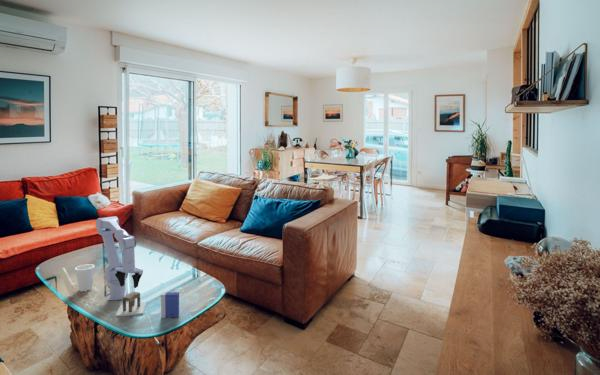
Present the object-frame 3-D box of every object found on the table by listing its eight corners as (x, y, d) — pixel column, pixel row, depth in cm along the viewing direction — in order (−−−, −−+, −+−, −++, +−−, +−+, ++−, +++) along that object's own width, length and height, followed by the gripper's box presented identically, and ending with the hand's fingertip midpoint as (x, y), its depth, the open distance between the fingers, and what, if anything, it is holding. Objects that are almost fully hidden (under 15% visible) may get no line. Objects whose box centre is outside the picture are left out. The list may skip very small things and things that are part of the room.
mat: (121, 305, 177) (121, 304, 177) (146, 303, 180) (146, 301, 180) (115, 316, 165) (115, 315, 165) (142, 314, 169) (142, 312, 169)
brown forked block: (122, 310, 170) (122, 297, 169) (132, 304, 176) (132, 291, 176) (130, 312, 169) (130, 298, 168) (140, 305, 175) (140, 292, 175)
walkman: (179, 314, 169) (179, 291, 168) (177, 317, 167) (177, 294, 165) (162, 315, 169) (162, 291, 167) (161, 317, 166) (160, 294, 164)
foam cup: (84, 285, 199) (83, 263, 198) (99, 286, 198) (98, 264, 197) (71, 292, 190) (70, 269, 188) (86, 293, 189) (86, 270, 187)
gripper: (146, 259, 177) (147, 284, 178) (121, 257, 179) (121, 282, 181) (137, 263, 170) (138, 290, 171) (111, 261, 172) (112, 287, 174)
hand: (129, 286), depth 175 cm, fingers open, 7 cm apart
